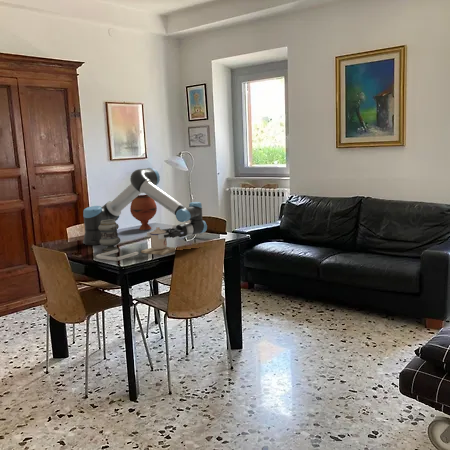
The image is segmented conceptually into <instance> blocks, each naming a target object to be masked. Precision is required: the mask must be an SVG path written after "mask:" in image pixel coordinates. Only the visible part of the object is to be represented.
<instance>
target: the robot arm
mask: <svg viewBox="0 0 450 450" xmlns="http://www.w3.org/2000/svg"><path fill="white" fill-rule="evenodd" d="M160 177H161V176H160V173H159V171H157V170H156V168H153V167H148V168H140V169H136V170H134V171H133V172H132V173H131V174H130V178H129V181H130V184H129V185H128V186H127V187H126V188H125V189H124V190H122V192H120V193H119V194H118V195H117V196H115V198H114V199H113V200H111V201H110V200H109V201H107V202H106V203H105V204H104V205H102V206H100V205H93V206H88V207H86V208H84V209H83V212H82V213H83V222H84V223H83V224H84V235H83V240H82V243H83V245H84V244H85V245H84V246H94V245H95V246H97V245H101V244H100V239H101V231H100V230H99V229H98V227H99V225H100V224H101V221H103V220H115V222H117V221H118V219H120V217H121V216H120V215H122V211H123V210H124V209H125V208H126V207H128V205H129V204H131V203H132V201H133V200H134V199H135V198H136V197H137V196H138V195H142V194H144V195H148V196H149V197H151V198H152V199H153V200H154V201H155V203H157V204H159V205H161V207H163V208H165V209H166V210H167V211H169V212H170V213H172V214H173V215H175V218H176V220H177V221H178V222H180V223H181V224H177V225H176V226H175V228H174V227H172V228H171V227H170V228H163V229H162V228H161V229H162V230H164V231H166V233H164V234H159V235H158V239H164V238H166V239H169V238H172V239H174V238H176V237H178V238H183V237H190V236H194V235H198V234H199V235H200V234H203V233H205V232H206V231H207V229H208V225H207V223H206V221H205V220H203V207H202V202H201V201H192V202H189V204H188V205H189V206H187V207H186V206H185V205H184V204H182V203H181V202H179V201H178V200H176V198H173V196H171V195H169V194H168V193H166V192H165V191H164V190H162V189H161V188H159V187H158V186H157V185H159V183H160V179H161V178H160ZM188 221H190V222H188ZM185 222H186V223H185ZM151 232H152V231H147V232H146V237H147V238H151V234H150V233H151Z"/></svg>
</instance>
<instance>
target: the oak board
mask: <svg viewBox="0 0 450 450" xmlns="http://www.w3.org/2000/svg"><path fill="white" fill-rule="evenodd" d="M175 248H176V247H173V246H167V247H166V248H163V249H153V248H152V247H149V248H145V249H142V250H140V251H141V254H148V255H158V256H164V255H168V254H170V253H173V252H176V251H175Z"/></svg>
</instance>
